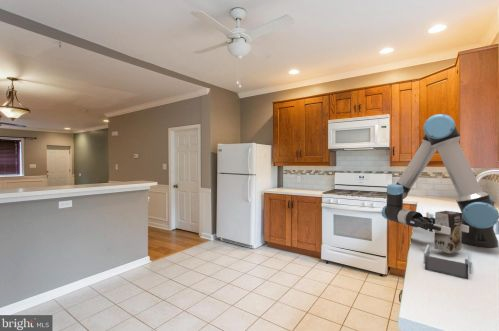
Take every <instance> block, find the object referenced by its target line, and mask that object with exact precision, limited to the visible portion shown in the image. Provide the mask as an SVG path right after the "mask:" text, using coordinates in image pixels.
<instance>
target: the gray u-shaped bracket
mask: <svg viewBox="0 0 499 331" xmlns="http://www.w3.org/2000/svg"><path fill="white" fill-rule="evenodd" d="M471 253H472V252H471V251H468V258H464V262H462V261H455V260H451V259H450V260H449V259H445V258H440V257H436V256H431V255H430V244H429V243H428V244H427V245H426V247H425V250H424V252H423V264H424V270H427V271H430V272H435V273H439V274H442V275H447V276H448V275H449V276H451V277H457V278H460V279H463V280H464V279H466V280H469V274H471V275H472V254H471Z"/></svg>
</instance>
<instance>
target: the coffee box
mask: <svg viewBox="0 0 499 331" xmlns="http://www.w3.org/2000/svg"><path fill="white" fill-rule="evenodd" d="M434 216H435V217H434V218H435V224H437V225H441V226H445V227H449V228H451V233H450V235H449V234H445V233H441V232H438V231H434V241H433V242H434V244H433V246H434V248H433V249H434V250H437V251H441V252H444V253H447V254H453V253H455V252H460V251H462V242H461V231H462V212H459V211H452V210H443V211H442V210H441V211H435V213H434Z"/></svg>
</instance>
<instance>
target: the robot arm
mask: <svg viewBox="0 0 499 331" xmlns="http://www.w3.org/2000/svg"><path fill="white" fill-rule="evenodd" d="M423 133H424V135H423V137H422V139H421V140H422V143H421V144H420V146H419V147H418V149H417V150H416V152H415V154H414V156H413V157H412V159H411V160H410V161H409V163H408V165H407V166H406V168H405V169H404V171H403V172H402V174H401V176H400V177H399V178H398V180H397V182H396V184H393V183H392V184H387V186H386V205H384V206H383V207H382V209H381V212H380V213H381V216H382V217H383V218H384V219H385V220H388V221H390V222H396V223H397V224H398V223H399V224H403V225H404V226H405V227H406V226H409V227H413V228H420V229H423V230H425V231H428V230H429V232H430V233H431V232H433V231H434V232H435V231H438V232H441V233H445V234H449V235H450V233H451V228H449V227H445V226H441V225H437V224H435V217H428V216H423V214H422V213H421V212H419V211H415V210H411V209H405V208H404V199H406V198H407V196H408V195H409V192H410V191H411V189H412V188H413V186H414V185H415V184H416V182H417V180H418V179H419V177H420V176H421V175H422V173H423V171H425V169H426V167H427V165H428V164H429V162H430V161H431V160H432V158H433V157H434V155H435V154H436V152H437V153H438V154H439V156H440V159H441V161H442V163H443V165H444V167H445V170H446V173H447V174H448V176H449V178H450V181H451V183H452V185H453V187H454V189H455V192H456V194H457V195H458V196H457V198H456V203H457V205H458V208H459V210H460V213H462V231H461V244H462V243H464V244H467V245H469V246H470V245H471V246H476V247H481V248H497V247H499V241H498V238H497V234H496V232H495V230H494V226H495V225H496V224H497V222H498V221H499V211H498V210H497V208H496V207H495V203H496V202H495V198H494V197H492V196H490V195H489V193H487V192H485V191H483V190H482V188H481V185H480V184H479V182H478V180H477V178H476V176H475V174H474V171H473V169H472V168H471V165H470V163H469V161H468V158H467V157H466V154H465V153H464V151H463V149H462V146H461V145H460V142H459V141H460V140H461V138H462V137H461V135H460V133H459V130H458V128H457V126H456V123H455V120H454V119H453V118H452V116H450V115H448V114H444V113H438V114H433V115H432V116H430V117H428V118H427V119H426V120H425V122H424V124H423Z"/></svg>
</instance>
